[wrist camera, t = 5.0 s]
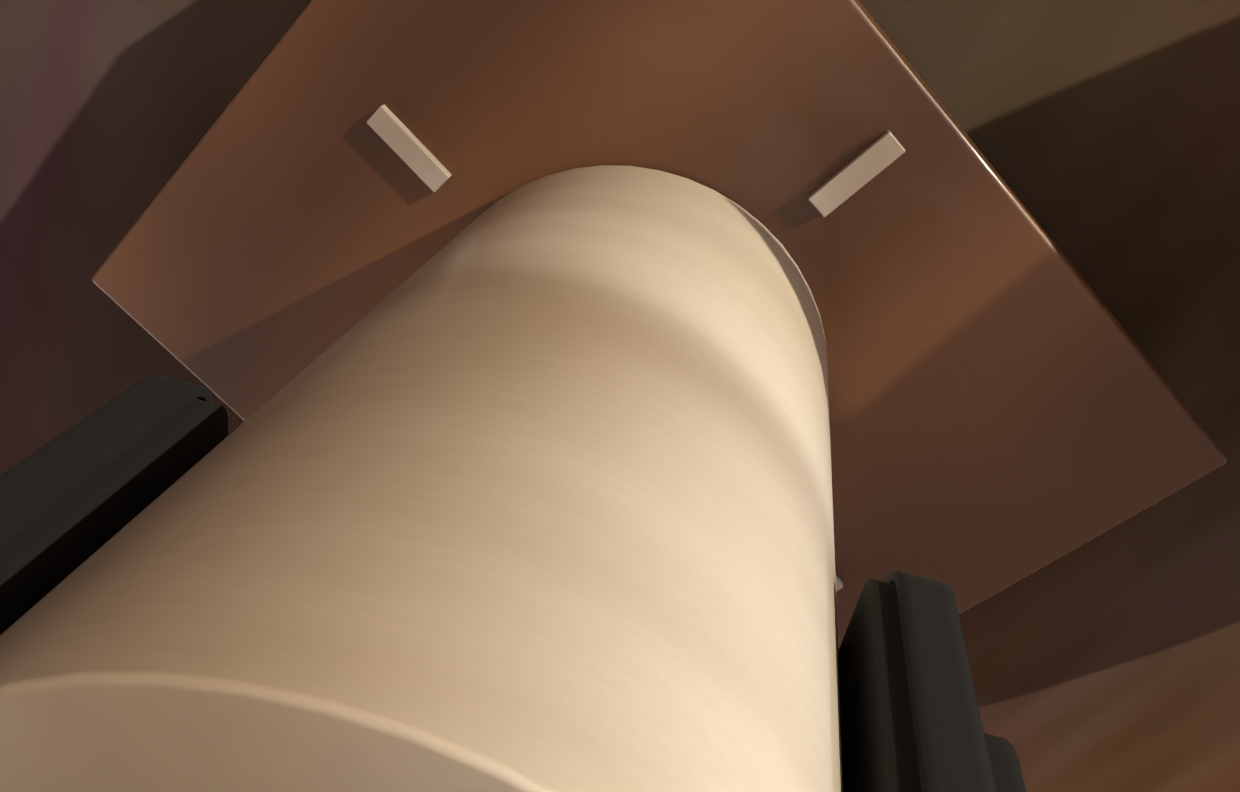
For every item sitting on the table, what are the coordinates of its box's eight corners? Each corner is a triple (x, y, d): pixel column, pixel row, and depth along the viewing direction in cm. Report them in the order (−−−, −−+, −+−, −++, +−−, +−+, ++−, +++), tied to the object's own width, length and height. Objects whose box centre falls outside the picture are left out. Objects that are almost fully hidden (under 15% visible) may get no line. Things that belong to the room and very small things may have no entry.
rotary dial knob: (515, 569, 18) (128, 1412, 8) (363, 236, 15) (-469, 814, 5) (873, 494, 16) (981, 1479, 6) (758, 104, 14) (611, 607, 4)
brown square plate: (186, 231, 19) (81, 283, 17) (621, -294, 14) (576, -345, 12) (667, 689, 22) (646, 800, 19) (1166, 380, 17) (1235, 468, 15)
